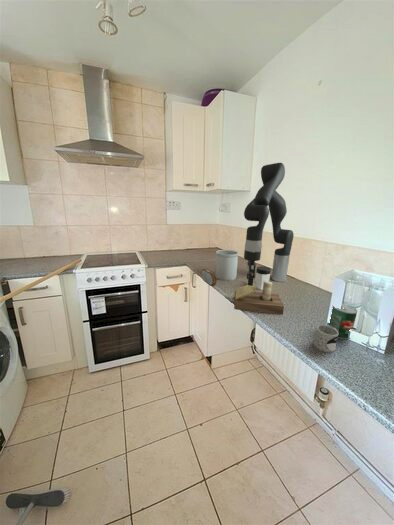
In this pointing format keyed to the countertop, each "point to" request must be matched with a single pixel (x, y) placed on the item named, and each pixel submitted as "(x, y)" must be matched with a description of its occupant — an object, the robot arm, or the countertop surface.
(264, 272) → the jar
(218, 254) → the utensil holder
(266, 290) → the peg
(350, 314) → the canned tomato
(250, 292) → the latch flap
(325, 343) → the mug
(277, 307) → the block
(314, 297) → the countertop surface
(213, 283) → the brown oval frame
